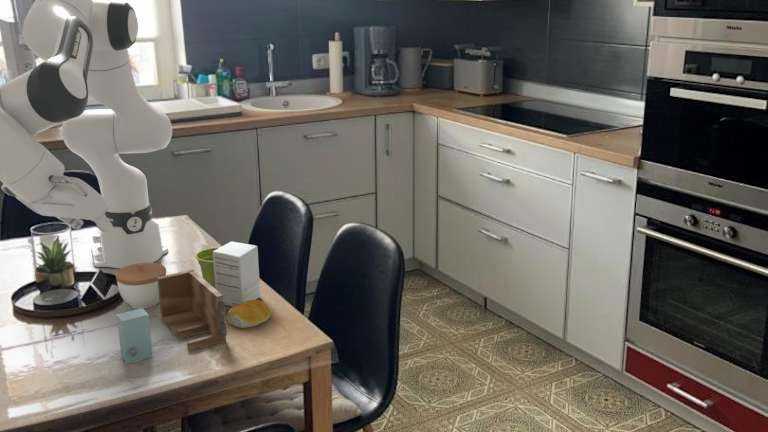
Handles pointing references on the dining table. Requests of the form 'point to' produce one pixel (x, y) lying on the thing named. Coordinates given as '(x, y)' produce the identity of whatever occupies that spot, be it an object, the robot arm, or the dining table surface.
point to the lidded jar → (140, 284)
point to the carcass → (192, 308)
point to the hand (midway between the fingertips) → (93, 227)
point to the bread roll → (248, 314)
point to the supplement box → (237, 272)
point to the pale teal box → (134, 335)
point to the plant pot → (207, 264)
